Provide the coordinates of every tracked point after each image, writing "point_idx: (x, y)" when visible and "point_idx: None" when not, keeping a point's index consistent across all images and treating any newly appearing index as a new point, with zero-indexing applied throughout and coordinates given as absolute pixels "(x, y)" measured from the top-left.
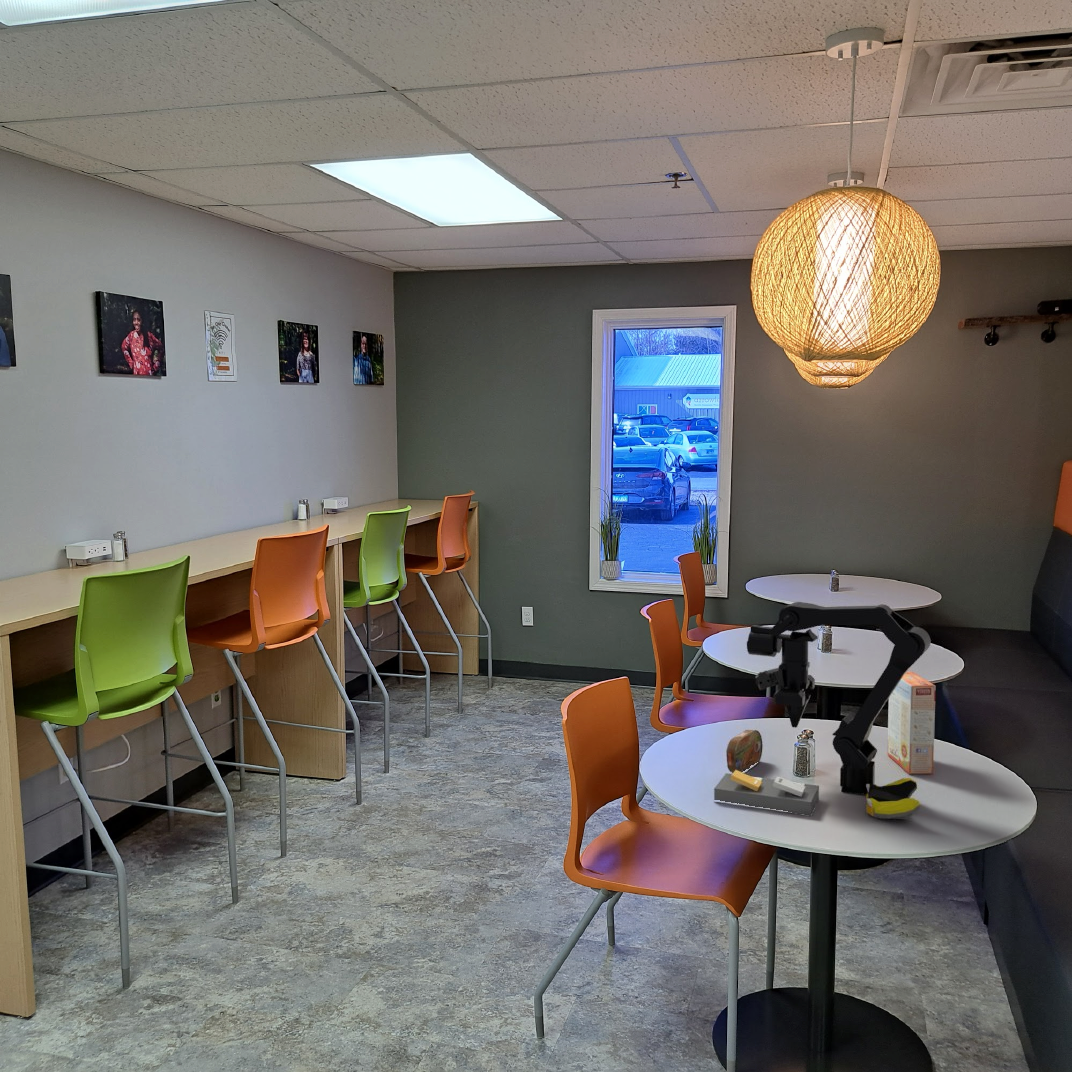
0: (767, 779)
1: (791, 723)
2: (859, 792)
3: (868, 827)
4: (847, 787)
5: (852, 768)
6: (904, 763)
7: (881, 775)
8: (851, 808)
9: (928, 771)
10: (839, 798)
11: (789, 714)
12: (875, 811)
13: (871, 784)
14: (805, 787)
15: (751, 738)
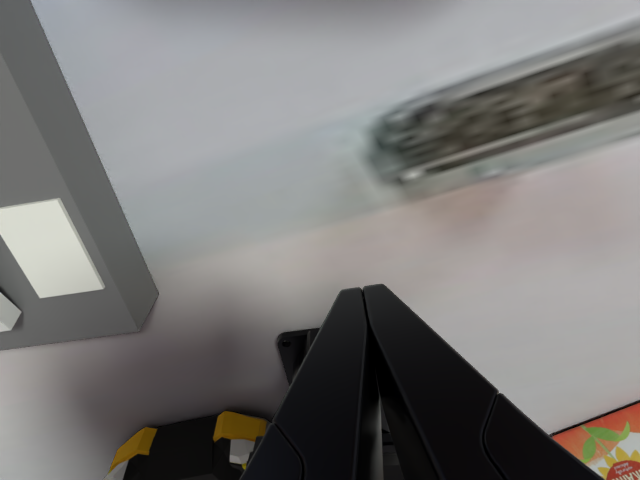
0: (15, 106)
1: (326, 318)
2: (289, 384)
3: (61, 443)
4: (303, 353)
5: (246, 463)
6: (600, 444)
7: (520, 381)
8: (160, 385)
9: None
10: (219, 340)
11: (279, 422)
12: (109, 471)
13: (240, 469)
14: (74, 298)
15: None
